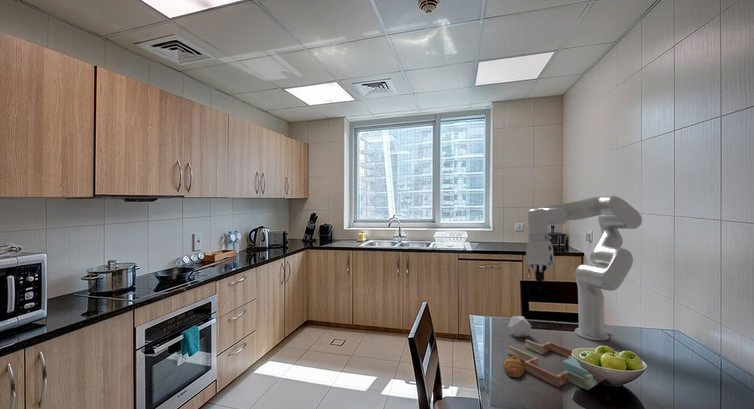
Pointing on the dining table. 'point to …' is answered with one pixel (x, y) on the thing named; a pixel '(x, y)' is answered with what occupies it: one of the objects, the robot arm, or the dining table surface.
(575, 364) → the teal block
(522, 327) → the die
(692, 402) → the dining table surface
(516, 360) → the pastry
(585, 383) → the wooden zigzag track
